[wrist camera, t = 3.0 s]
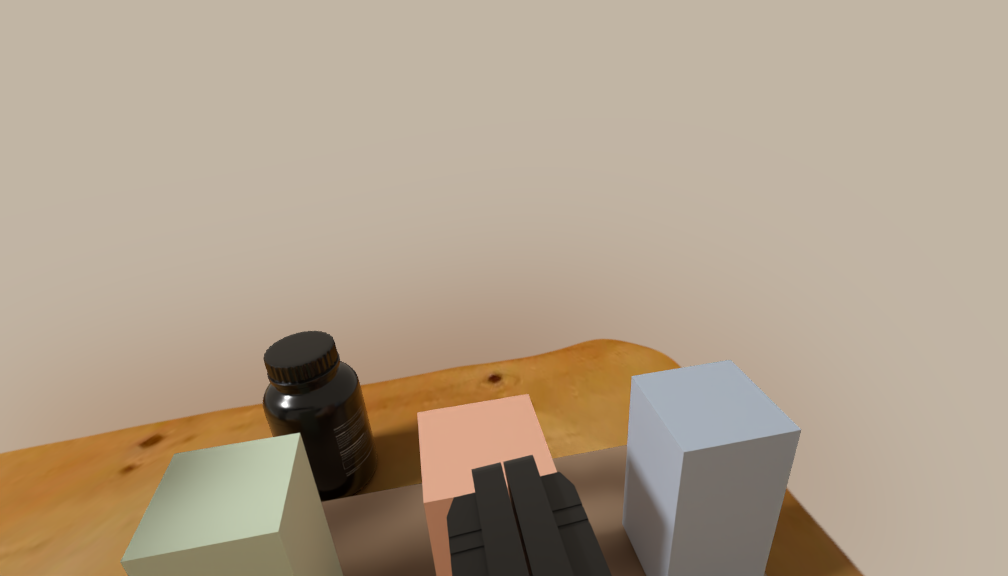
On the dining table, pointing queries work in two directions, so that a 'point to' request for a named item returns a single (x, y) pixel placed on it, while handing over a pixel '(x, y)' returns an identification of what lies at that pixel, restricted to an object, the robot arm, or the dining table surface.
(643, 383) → the slate block
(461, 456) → the terracotta block
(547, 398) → the dining table surface
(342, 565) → the wooden board
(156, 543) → the sage block
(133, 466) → the dining table surface
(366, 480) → the supplement bottle
